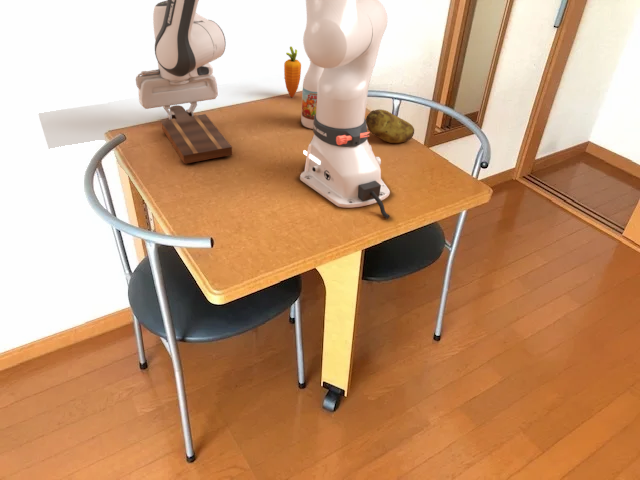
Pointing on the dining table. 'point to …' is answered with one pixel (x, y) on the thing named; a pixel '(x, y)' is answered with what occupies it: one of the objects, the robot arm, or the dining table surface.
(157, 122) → the dining table surface
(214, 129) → the cutting board
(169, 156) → the dining table surface
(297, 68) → the carrot
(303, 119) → the milk bottle
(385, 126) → the potato
